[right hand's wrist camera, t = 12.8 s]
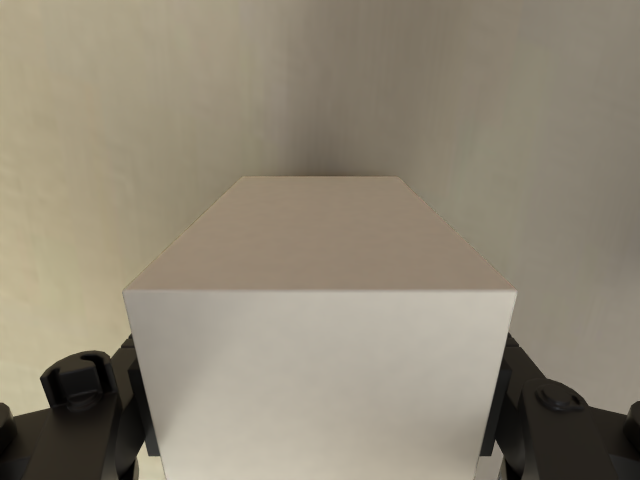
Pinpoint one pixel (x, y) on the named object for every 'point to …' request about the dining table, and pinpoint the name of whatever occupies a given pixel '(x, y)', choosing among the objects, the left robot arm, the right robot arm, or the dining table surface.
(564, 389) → the right robot arm
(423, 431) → the block
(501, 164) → the dining table surface
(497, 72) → the dining table surface
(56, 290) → the dining table surface
